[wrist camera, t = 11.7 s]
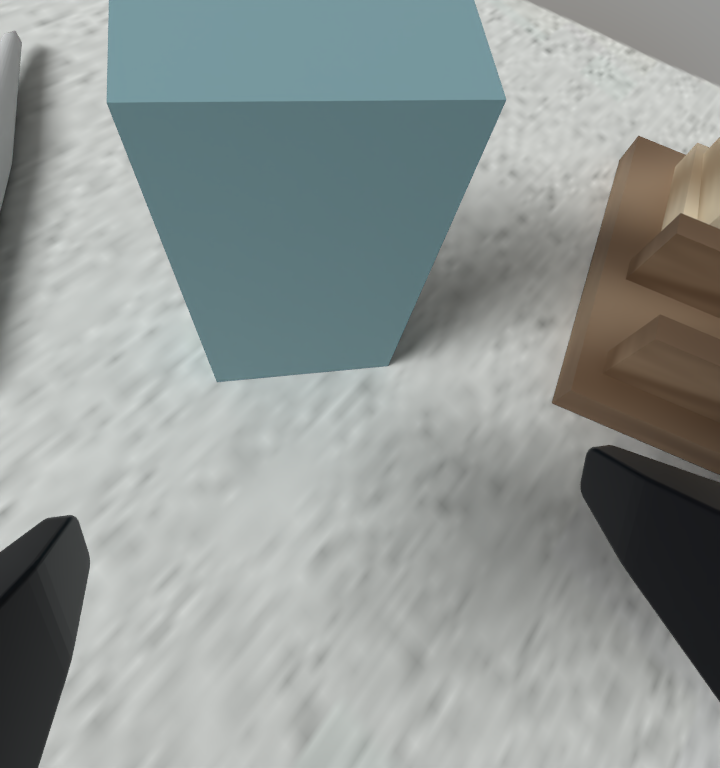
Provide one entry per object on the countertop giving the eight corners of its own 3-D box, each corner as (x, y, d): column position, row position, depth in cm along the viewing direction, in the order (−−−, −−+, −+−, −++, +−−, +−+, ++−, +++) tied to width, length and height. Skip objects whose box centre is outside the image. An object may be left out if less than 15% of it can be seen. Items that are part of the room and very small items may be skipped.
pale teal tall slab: (388, 365, 20) (506, 99, 9) (216, 381, 19) (106, 102, 8) (375, 298, 21) (468, -17, 10) (212, 310, 20) (109, -29, 9)
